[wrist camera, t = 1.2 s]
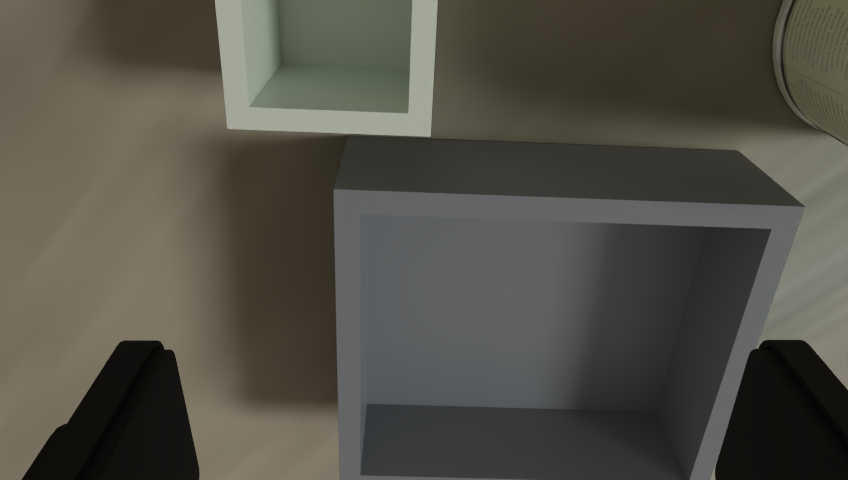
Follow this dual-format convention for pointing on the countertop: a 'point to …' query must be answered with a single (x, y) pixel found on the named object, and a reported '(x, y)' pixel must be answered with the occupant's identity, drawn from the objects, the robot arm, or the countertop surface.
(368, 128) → the sage crate
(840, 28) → the coffee can
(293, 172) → the countertop surface
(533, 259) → the charcoal crate
